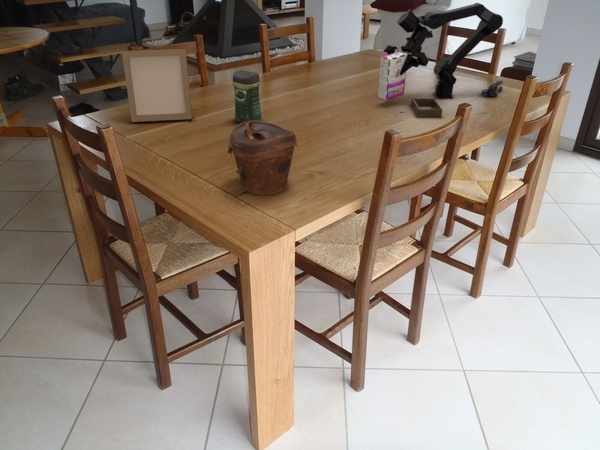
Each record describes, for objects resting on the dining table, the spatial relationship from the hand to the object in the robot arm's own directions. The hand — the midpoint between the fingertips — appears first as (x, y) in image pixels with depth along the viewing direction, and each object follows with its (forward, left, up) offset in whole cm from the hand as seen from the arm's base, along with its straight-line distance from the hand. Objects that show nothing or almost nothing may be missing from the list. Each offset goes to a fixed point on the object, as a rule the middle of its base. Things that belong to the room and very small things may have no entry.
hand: (395, 73), depth 200 cm
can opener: (-47, -15, -12) cm, 51 cm away
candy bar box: (+1, +1, -9) cm, 9 cm away
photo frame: (+90, +17, -12) cm, 93 cm away
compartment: (-12, +10, -12) cm, 20 cm away
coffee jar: (+57, +22, -12) cm, 63 cm away
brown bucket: (+48, +74, -12) cm, 89 cm away
